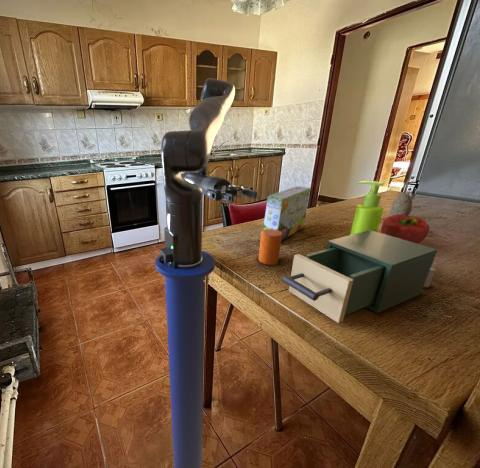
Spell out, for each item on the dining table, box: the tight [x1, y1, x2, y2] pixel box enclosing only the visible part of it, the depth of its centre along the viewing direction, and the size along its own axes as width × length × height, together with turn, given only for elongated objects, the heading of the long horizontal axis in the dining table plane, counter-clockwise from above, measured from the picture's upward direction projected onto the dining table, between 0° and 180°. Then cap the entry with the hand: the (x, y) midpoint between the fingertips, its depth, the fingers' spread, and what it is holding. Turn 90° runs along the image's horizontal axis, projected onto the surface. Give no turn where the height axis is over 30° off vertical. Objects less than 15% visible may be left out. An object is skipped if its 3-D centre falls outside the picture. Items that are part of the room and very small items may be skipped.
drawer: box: [281, 247, 386, 324], centre depth 51 cm, size 18×11×9 cm, turn 113°
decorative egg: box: [389, 192, 413, 217], centre depth 98 cm, size 6×6×10 cm
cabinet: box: [325, 230, 438, 314], centre depth 56 cm, size 15×13×11 cm
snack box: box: [262, 185, 312, 242], centre depth 87 cm, size 21×6×15 cm, turn 132°
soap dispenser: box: [349, 180, 385, 235], centre depth 72 cm, size 6×7×20 cm
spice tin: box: [258, 229, 282, 266], centre depth 70 cm, size 5×5×8 cm
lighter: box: [423, 267, 436, 288], centre depth 59 cm, size 7×2×8 cm, turn 179°
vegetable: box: [380, 214, 430, 245], centre depth 75 cm, size 11×10×10 cm
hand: (244, 197), depth 76 cm, fingers open, 8 cm apart
